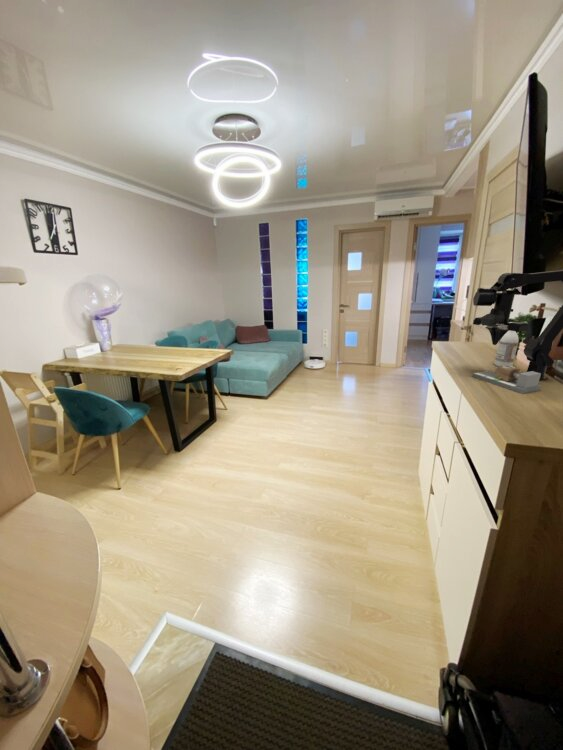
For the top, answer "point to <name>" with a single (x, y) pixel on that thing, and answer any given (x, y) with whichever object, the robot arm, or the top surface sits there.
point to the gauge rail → (521, 385)
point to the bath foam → (507, 349)
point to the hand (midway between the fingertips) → (494, 344)
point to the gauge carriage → (507, 373)
